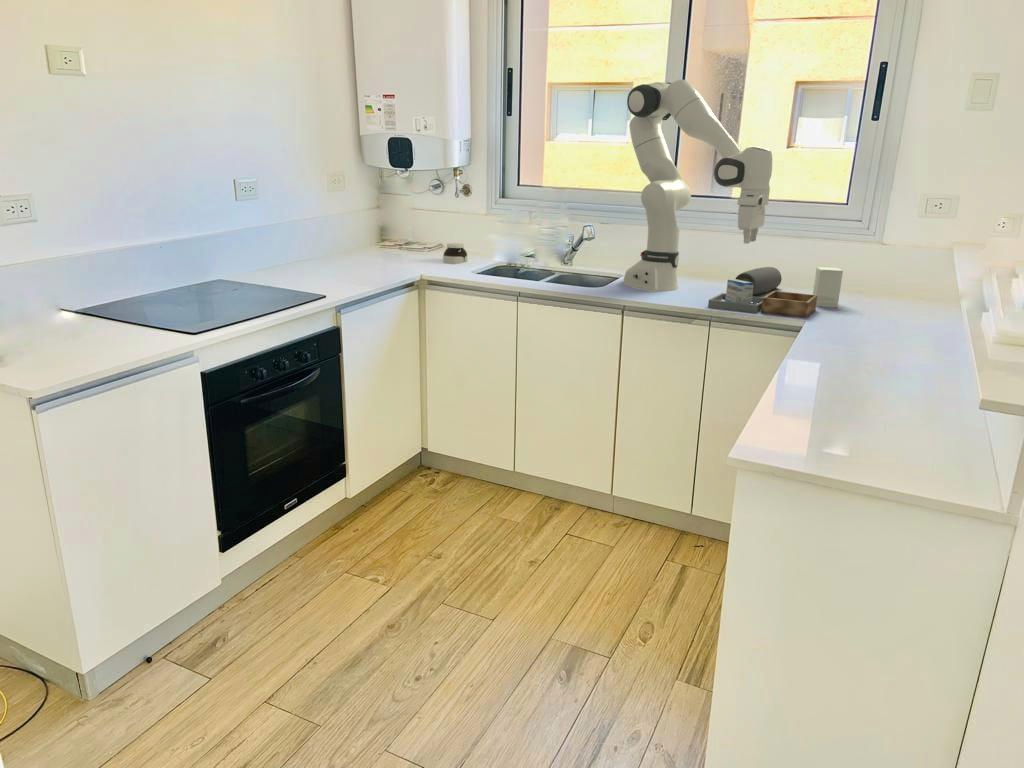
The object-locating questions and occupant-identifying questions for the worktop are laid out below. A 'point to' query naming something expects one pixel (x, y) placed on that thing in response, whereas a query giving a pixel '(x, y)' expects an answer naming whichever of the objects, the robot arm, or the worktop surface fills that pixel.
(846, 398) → the worktop surface
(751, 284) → the medicine box
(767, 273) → the bluetooth speaker
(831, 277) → the supplement box
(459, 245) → the spread jar
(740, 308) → the tray
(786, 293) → the walnut crate
